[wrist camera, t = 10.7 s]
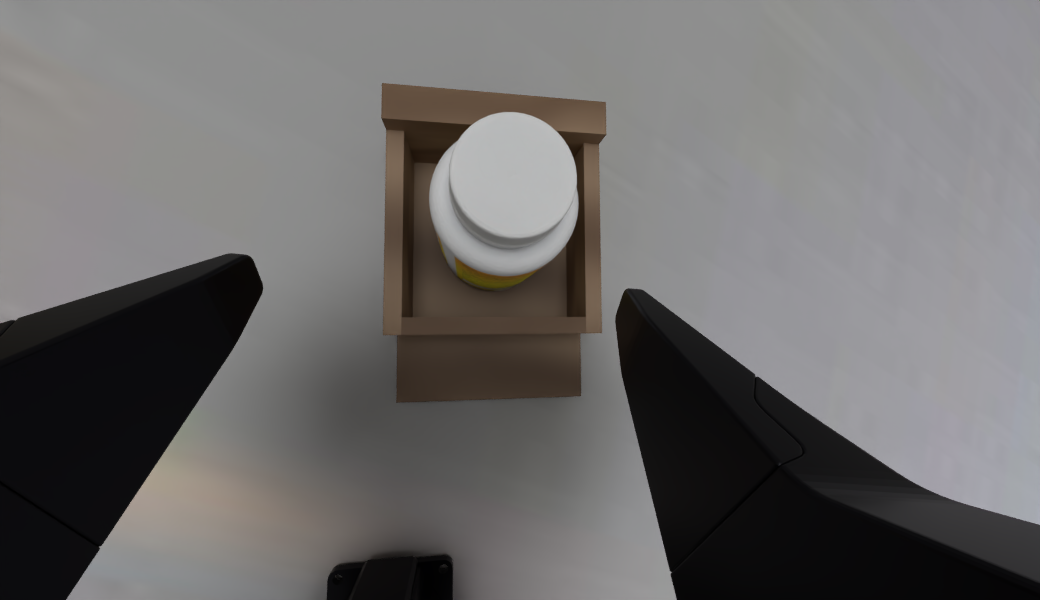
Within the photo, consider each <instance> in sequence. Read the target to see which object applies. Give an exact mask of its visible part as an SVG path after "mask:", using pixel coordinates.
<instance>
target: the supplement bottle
mask: <svg viewBox="0 0 1040 600" xmlns="http://www.w3.org/2000/svg"><path fill="white" fill-rule="evenodd" d="M576 186H577V173H576V166H575V162H574V158H573V156H572V153H571V151H570V149H569V147H568V145H567V144H566V142H565V141H564V139H563V138H562V137H561V136H560V135H559V133H558V132H557V131H555V130H554V129H553V128H552V127H551V126H550V125H548V124H547V123H545V122H544V121H542V120H540V119H538V118H536V117H533V116H531V115H527V114H524V113H517V112H502V113H496V114H492V115H489V116H487V117H484V118H482V119H480V120H478V121H477V122H475V123H474V124H472V125H471V126H470V127H469V128H468V129H467V130H466V131H465V132H464V133H463V134H462V135H461V137H460V138H459V140H458V141H457V142H455V143H454V144H453V145H452V146H451V147H450V148H449V149H448V150H447V151H446V152H445V153H444V155H443V156H442V157H441V159H440V161H439V162H438V164H437V166H436V168H435V171H434V173H433V176H432V180H431V184H430V191H429V206H430V213H431V218H432V222H433V225H434V228H435V231H436V234H437V237H438V241H439V244H440V246H441V249H442V252H443V255H444V257H445V260H446V262H447V264H448V266H449V267H450V269H451V270H452V272H453V273H454V274H455V275H456V276H457V277H458V278H459V279H460V280H461V281H463V282H464V283H466V284H467V285H469V286H471V287H474V288H476V289H479V290H483V291H502V290H506V289H509V288H512V287H514V286H516V285H518V284H519V283H521V282H522V281H524V280H525V279H527V278H528V277H529V276H531V275H532V274H534V273H535V272H536V271H538V270H539V269H540V268H542V267H543V266H545V265H546V264H547V263H549V262H550V261H551V260H552V259H553V258H555V257H556V256H557V255H558V254H559V253H560V251H561V250H562V249H563V248H564V247H565V245H566V244H567V242H568V240H569V239H570V237H571V235H572V233H573V230H574V227H575V224H576V220H577V216H578V204H579V203H578V192H577V187H576Z"/></svg>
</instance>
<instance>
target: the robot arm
mask: <svg viewBox="0 0 1040 600" xmlns="http://www.w3.org/2000/svg"><path fill="white" fill-rule="evenodd" d="M262 291H263V284H262V281H261V278H260V276H259V273H258V271H257V268H256V266H255V263H254V261H253V259H252V258H251V257H250V256H248V255H244V254H233V253H230V254H225V255H222V256H219V257H215V258H212V259H209V260H206V261H202V262H199V263H196V264H193V265H189V266H186V267H183V268H180V269H176V270H173V271H170V272H167V273H163V274H160V275H157V276H154V277H150V278H147V279H144V280H141V281H137V282H134V283H131V284H127V285H124V286H121V287H118V288H114V289H111V290H108V291H105V292H101V293H98V294H95V295H92V296H88V297H85V298H82V299H79V300H75V301H72V302H69V303H66V304H62V305H59V306H56V307H53V308H49V309H46V310H43V311H40V312H36V313H33V314H30V315H27V316H23V317H20V318H18V319H17V320H16V321H15V320H10V321H7V322H4V323H0V600H66V599H67V597H68V596H69V594H70V593H71V591H72V590H73V588H74V587H75V585H76V584H77V582H78V581H79V579H80V578H81V576H82V575H83V573H84V572H85V570H86V569H87V567H88V566H89V564H90V563H91V561H92V560H93V558H94V557H95V555H96V554H97V552H98V551H99V549H100V548H99V546H101V545H102V544H103V543H104V541H105V540H106V538H107V537H108V535H109V534H110V532H111V531H112V529H113V528H114V526H115V525H116V523H117V522H118V520H119V519H120V517H121V516H122V514H123V513H124V511H125V510H126V508H127V507H128V505H129V504H130V502H131V501H132V499H133V498H134V496H135V495H136V494H137V492H138V491H139V489H140V488H141V486H142V485H143V483H144V482H145V480H146V479H147V477H148V476H149V474H150V473H151V471H152V470H153V468H154V467H155V465H156V464H157V462H158V461H159V459H160V458H161V456H162V455H163V453H164V452H165V450H166V449H167V447H168V446H169V444H170V443H171V441H172V440H173V438H174V437H175V435H176V434H177V432H178V431H179V429H180V428H181V426H182V425H183V423H184V422H185V420H186V419H187V417H188V416H189V414H190V413H191V411H192V410H193V408H194V407H195V405H196V404H197V402H198V401H199V399H200V398H201V396H202V395H203V393H204V392H205V390H206V389H207V387H208V386H209V384H210V383H211V381H212V380H213V378H214V377H215V375H216V374H217V372H218V371H219V369H220V368H221V366H222V365H223V363H224V362H225V360H226V359H227V357H228V356H229V354H230V353H231V351H232V350H233V348H234V346H235V345H236V343H237V341H238V339H239V337H240V336H241V334H242V332H243V330H244V328H245V326H246V324H247V322H248V320H249V318H250V316H251V314H252V312H253V310H254V308H255V306H256V304H257V302H258V301H259V299H260V297H261V295H262ZM615 322H616V331H617V340H618V348H619V357H620V366H621V372H622V378H623V382H624V386H625V390H626V394H627V399H628V403H629V407H630V411H631V415H632V419H633V423H634V427H635V431H636V435H637V439H638V443H639V447H640V451H641V455H642V459H643V463H644V467H645V471H646V476H647V480H648V484H649V488H650V492H651V496H652V500H653V504H654V508H655V512H656V516H657V520H658V524H659V528H660V532H661V536H662V540H663V544H664V549H665V553H666V557H667V561H668V565H669V569H670V571H671V572H672V573H671V578H672V582H673V586H674V590H675V594H676V598H677V600H1040V525H1038V524H1034V523H1031V522H1027V521H1023V520H1020V519H1016V518H1013V517H1009V516H1006V515H1002V514H998V513H995V512H991V511H988V510H984V509H980V508H977V507H973V506H970V505H966V504H963V503H960V502H957V501H954V500H951V499H948V498H946V497H943V496H940V495H938V494H936V493H934V492H932V491H929V490H927V489H925V488H923V487H921V486H919V485H917V484H915V483H913V482H912V481H910V480H908V479H907V478H905V477H903V476H902V475H900V474H899V473H897V472H895V471H894V470H892V469H891V468H889V467H888V466H886V465H885V464H883V463H882V462H880V461H879V460H877V459H876V458H874V457H873V456H871V455H870V454H868V453H867V452H865V451H864V450H862V449H861V448H859V447H858V446H856V445H855V444H853V443H852V442H850V441H849V440H847V439H846V438H844V437H843V436H841V435H840V434H838V433H837V432H835V431H834V430H832V429H831V428H829V427H828V426H826V425H825V424H823V423H822V422H821V421H819V420H818V419H816V418H815V417H813V416H812V415H810V414H809V413H807V412H806V411H804V410H803V409H802V408H800V407H799V406H797V405H796V404H794V403H793V402H792V401H790V400H789V399H788V398H786V397H785V396H783V395H782V394H781V393H779V392H778V391H777V390H775V389H774V388H772V387H771V386H770V385H769V384H767V383H766V382H765V381H763V380H762V379H761V378H759V377H755V374H754V373H753V372H751V371H750V370H749V369H747V368H746V367H745V366H743V365H742V364H741V363H739V362H738V361H737V360H735V359H734V358H733V357H731V356H730V355H729V354H727V353H726V352H725V351H723V350H722V349H721V348H719V347H718V346H717V345H715V344H714V343H713V342H711V341H710V340H709V339H707V338H706V337H705V336H703V335H702V334H701V333H699V332H698V331H697V330H695V329H694V328H693V327H691V326H690V325H689V324H687V323H686V322H685V321H683V320H682V319H681V318H679V317H678V316H677V315H675V314H674V313H673V312H672V311H670V310H669V309H668V308H666V307H665V306H664V305H662V304H661V303H660V302H658V301H657V300H656V299H654V298H653V297H652V296H650V295H649V294H648V293H646V292H645V291H644V290H641V289H629V288H628V289H626V290H625V291H624V293H623V296H622V299H621V302H620V304H619V307H618V310H617V314H616V321H615ZM443 564H444V565H447V566H448V567H447V568H446V569H441V568H440V566H441V565H443ZM335 575H341V576H342V578H343V579H340V580H339V579H337V578H336V577H335ZM327 600H453V562H452V559H451V558H450V557H449V556H446V555H441V556H431V557H420V558H415V557H413V556H409V557H398V558H388V559H377V560H368V561H367V562H366V563H356V564H346V565H339V566H336V567H335V568H333V570H332V571H331V573H330V575H329V577H328V581H327Z"/></svg>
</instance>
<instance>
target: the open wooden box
mask: <svg viewBox="0 0 1040 600" xmlns="http://www.w3.org/2000/svg"><path fill="white" fill-rule="evenodd" d="M502 112H517V113H524V114H527V115H531V116H533V117H536V118H538V119H540V120H542V121H544V122H545V123H547V124H548V125H550V126H551V127H552V128H553V129H554V130H555V131H557V132H558V133H559V135H560V136H561V137H562V138H563V139H564V141H565V142H566V144H567V145H568V147H569V149H570V151H571V153H572V156H573V158H574V162H575V166H576V173H577V186H576V187H577V192H578V203H579V204H578V216H577V220H576V224H575V227H574V230H573V233H572V235H571V237H570V239H569V240H568V242H567V244H566V245H565V247H564V248H563V249H562V250H561V251H560V253H559V254H558V255H557V256H556V257H555V258H553V259H552V260H551V261H550V262H549V263H547V264H546V265H545V266H543V267H542V268H540V269H539V270H538V271H536V272H535V273H534V274H532V275H531V276H529V277H528V278H527V279H525V280H524V281H522V282H521V283H519V284H518V285H516V286H514V287H512V288H509V289H506V290H502V291H483V290H479V289H476V288H474V287H471V286H469V285H467V284H466V283H464V282H463V281H461V280H460V279H459V278H458V277H457V276H456V275H455V274H454V273H453V272H452V270H451V269H450V267H449V266H448V264H447V262H446V260H445V257H444V255H443V252H442V249H441V246H440V244H439V241H438V237H437V234H436V231H435V228H434V225H433V222H432V218H431V213H430V206H429V191H430V184H431V180H432V176H433V173H434V171H435V168H436V166H437V164H438V162H439V161H440V159H441V157H442V156H443V155H444V153H445V152H446V151H447V150H448V149H449V148H450V147H451V146H452V145H453V144H454V143H455V142H457V141H458V140H459V138H460V137H461V135H462V134H463V133H464V132H465V131H466V130H467V129H468V128H469V127H470V126H471V125H472V124H474V123H475V122H477V121H478V120H480V119H482V118H484V117H487V116H489V115H492V114H496V113H502ZM381 118H382V121H383V123H384V125H385V128H386V182H385V243H384V305H383V335H397V397H396V403H398V402H426V401H455V400H484V399H512V398H541V397H570V396H581V355H580V333H602V314H601V249H600V185H599V143H600V142H601V141H602V139H603V138H604V137H605V135H606V102H597V101H585V100H574V99H562V98H550V97H538V96H527V95H515V94H503V93H492V92H480V91H468V90H456V89H445V88H433V87H421V86H410V85H398V84H386V83H382V114H381Z"/></svg>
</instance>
